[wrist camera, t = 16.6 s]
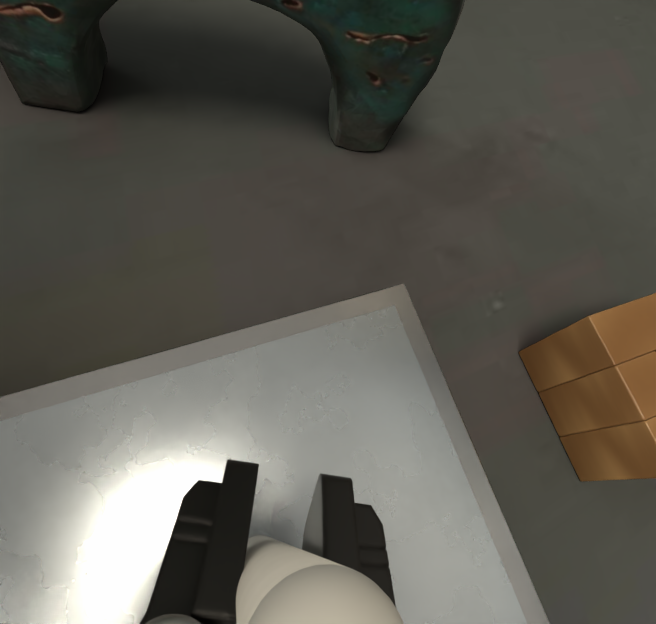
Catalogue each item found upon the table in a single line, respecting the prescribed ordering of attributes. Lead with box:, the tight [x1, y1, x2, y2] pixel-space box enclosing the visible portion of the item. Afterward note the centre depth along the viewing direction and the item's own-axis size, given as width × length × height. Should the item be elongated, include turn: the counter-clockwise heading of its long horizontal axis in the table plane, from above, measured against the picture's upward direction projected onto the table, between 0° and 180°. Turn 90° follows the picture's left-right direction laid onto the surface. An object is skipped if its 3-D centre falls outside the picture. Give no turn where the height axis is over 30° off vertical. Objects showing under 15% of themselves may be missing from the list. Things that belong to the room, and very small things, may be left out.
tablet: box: [0, 284, 550, 624], centre depth 17 cm, size 17×22×1 cm
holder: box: [519, 293, 656, 481], centre depth 21 cm, size 6×6×5 cm
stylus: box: [236, 534, 404, 624], centre depth 10 cm, size 2×2×15 cm
